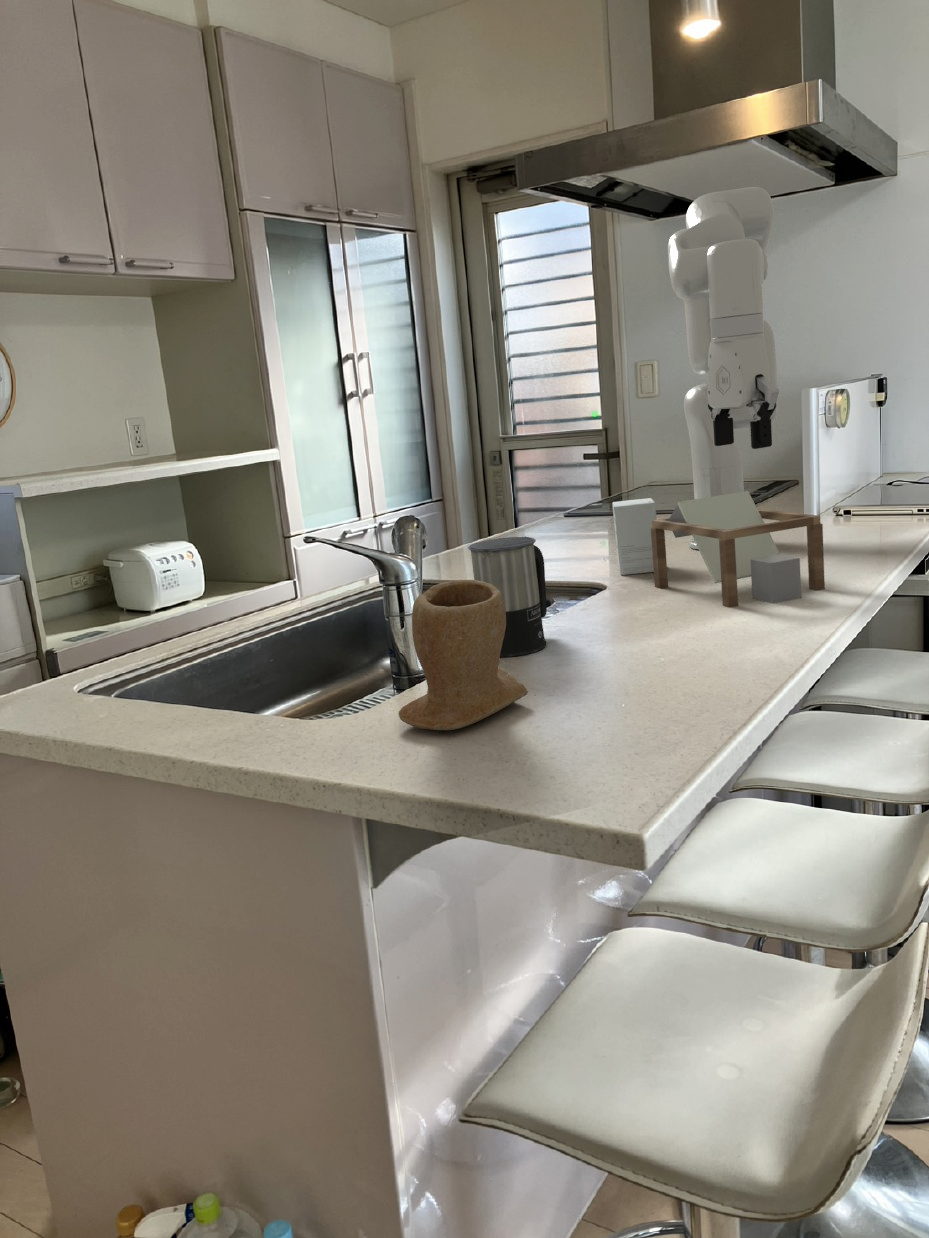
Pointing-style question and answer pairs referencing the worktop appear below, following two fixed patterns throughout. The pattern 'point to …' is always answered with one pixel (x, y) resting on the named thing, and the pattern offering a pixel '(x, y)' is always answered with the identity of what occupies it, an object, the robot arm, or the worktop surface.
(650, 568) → the supplement box
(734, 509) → the trapdoor
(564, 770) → the worktop surface
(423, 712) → the stone cup
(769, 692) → the worktop surface
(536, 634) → the milk frother
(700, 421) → the robot arm
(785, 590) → the grey near-cubic block
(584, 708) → the worktop surface
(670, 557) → the worktop surface
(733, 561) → the frame
